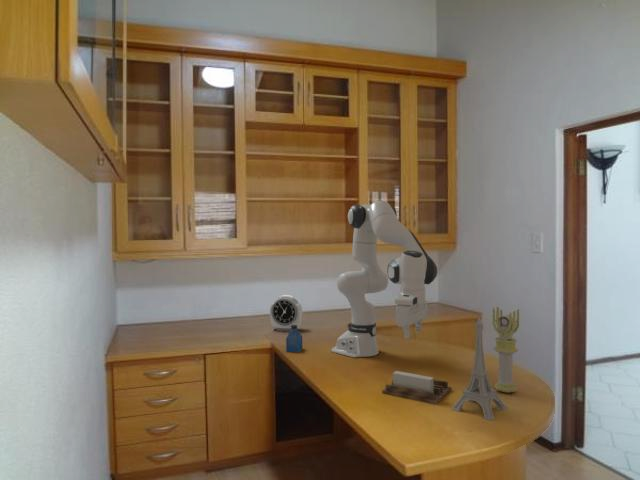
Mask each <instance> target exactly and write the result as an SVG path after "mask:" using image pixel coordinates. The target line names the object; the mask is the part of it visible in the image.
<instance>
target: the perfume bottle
mask: <svg viewBox="0 0 640 480" xmlns="http://www.w3.org/2000/svg"><path fill="white" fill-rule="evenodd" d="M298 330H299V327H298V328H297V325H291V331H289V333H288V334H287V336H286V338H285V339H286V340H285V347H286V348H285V350H286V352H289V353H290V352H291V353H292V352H293V353H300V351H302V350H303V335H302V333H301V332H300V331H298Z"/></svg>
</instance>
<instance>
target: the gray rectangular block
mask: <svg viewBox="0 0 640 480" xmlns="http://www.w3.org/2000/svg"><path fill="white" fill-rule="evenodd" d="M433 379H434V377H433V376H432V377H431V376H427V375H421V374H416V373H410V372H404V371H399V370H395V371H394V372H393V373H392V380H393V385H396V386H401V387H406V388H411V389H416V390H421V391H426V392H431V393H434V386H433Z"/></svg>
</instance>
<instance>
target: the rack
mask: <svg viewBox="0 0 640 480" xmlns="http://www.w3.org/2000/svg"><path fill="white" fill-rule="evenodd" d="M448 383H449V382H448V381H445V380H439V379H435V378H433V386H434V393H431V392H426V391H421V390H416V389H411V388H406V387H401V386H396V385H393V379H392V380H391V383H386V384H385V387H384V388H383V389H382V391H381V392H382V394H385V393H386V395H390V396H395V397H400V398H404V399H410V400H414V401H419V402H424V403H428V404H433V405H437V404H439V402H440V401H441V400H443V398H444V397H445V396H447V395H448V394H449V393H450V392H451V391H452V387H451V386H449V384H448Z"/></svg>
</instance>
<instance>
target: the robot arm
mask: <svg viewBox="0 0 640 480" xmlns="http://www.w3.org/2000/svg"><path fill="white" fill-rule="evenodd" d="M347 221H348V224H349V226H350V227H351V228H353V235H352V237H353V238H352V254H351V256H352V259H354V261H355V262H357V263H359V264H360V265H361V270H353V271H352V270H350V271H345V272H343V273H340V275H338V276H337V280H336V286H337V289H338V291H339V293H341V294H342V295H344V296H345V298H346V299H347V300H348V303H349V306H350V313H351V317H350V318H351V322H349V323H348V324H347V325H346V328H348V329H347V330H346V331H345V332H343V334H341V335H340V336H338V338H337V340H336V345H335V346H334V347H331V352H332V353H335V354H340V355H343V356H348V357H351V358H362V357H365V358H366V357H373V356H377V355H378V354H379V349H378V344H377V337H376V335H377V334H376V333H377V323H376V308H375V306H374V305H373V303H371V302H370V301H368V300H367V299H366V296H365V295H366V294H376V293H380V292H383V291H385V290H386V289H387V287H388V285H389V281H391V282H392V283H393V284H395V285H400V287H399V292H398V294H397V296H396V297H395V298H394V305H396V306H395V321H396V325H397V327H398V328H402V331H403V337H404V339H409V338H411V336H412V335H411V332H410V328H411V327H410V326H412V325H414V332H415V333H420V332H421V331H422V329H421V327H422V324H423V320H424V319H426V318H427V316H428V303H427V302H428V301H427V299H426V285H431V283H432V282H434V280H436V278H437V276H438V267H437V264H436V263H435V261H434V260H433V259H432V258H431V257H430V256H429V255H428V253H427V252H426V251H425V249H424V247H423V246H422V244H421V243H420V241H419V240H418V238H417V237H416V236H415V234H414V233H413V232H412V230H410V229H409V228H407V227H406V226H405V225H403V224H402V223H401V222H400V220H399V219H398V214H397V210H396V208H395V206H393V205H391V204H389V202H387V201H386V200H377V201H374V202H373V203H372V204H370V203H369V204H354V205H352V206H350V208H349V209H348V212H347ZM377 239H378V240H377ZM377 241H381V242H383V243H385V244H390V245H393V246H397V247H400V248H404V249H405V251H403V252H401V255H400V256H399V257H397V258H395V259H391V261H390V262H389V263H388V266H387V273H386V272H385V271H384V270H382V269H381V267H380V265H379V262H378V258H377Z"/></svg>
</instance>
